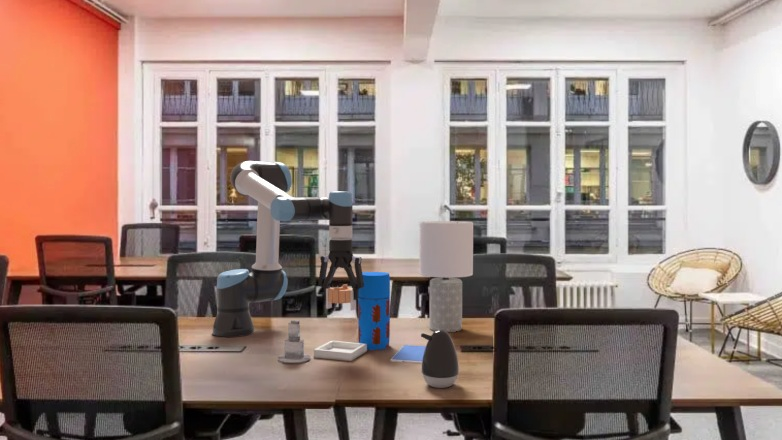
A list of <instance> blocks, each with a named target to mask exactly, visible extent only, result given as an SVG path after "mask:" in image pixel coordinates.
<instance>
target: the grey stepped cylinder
mask: <svg viewBox="0 0 782 440" xmlns="http://www.w3.org/2000/svg"><path fill="white" fill-rule="evenodd" d="M287 327H288V338H286V339H285V340H284V353H283V354H280V355H279V356H278V357H277V361H278V362H279V363H282V364H291V365H293V364H295V365H297V364H304V363H306V362H309V361H310V360H311V355H310V354H308V353H305V339H303V338H301V322H300V320H293V319H291V320H290V322H288V326H287Z"/></svg>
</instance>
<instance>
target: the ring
mask: <svg viewBox="0 0 782 440" xmlns="http://www.w3.org/2000/svg"><path fill="white" fill-rule="evenodd" d="M348 285H349V284H347V283H346V284H342V286H341V287H340V286H334V287H329V288H330V289H328V301H329V302H330V303H332V304H351V290H352V289H353V288H352V287H349V286H348Z"/></svg>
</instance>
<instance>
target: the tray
mask: <svg viewBox="0 0 782 440" xmlns="http://www.w3.org/2000/svg"><path fill="white" fill-rule="evenodd" d="M366 352H368V349H367V344H363V343H359V342H351V341H349V342H348V341H341V340H330V341H328V342H326V343H324V344H321V345H320V346H317V347H315V348H313V358H318V359H328V360H338V361H347V362H352V361H354V360H355V359H357V358H358V357H360V356H362V355H363V354H365V353H366Z"/></svg>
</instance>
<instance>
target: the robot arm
mask: <svg viewBox="0 0 782 440" xmlns="http://www.w3.org/2000/svg"><path fill="white" fill-rule="evenodd" d="M229 177H230V179H229V180H230V184H231V186H232V188H233V189H234V190H235V191H237V192H238V193H239V194H240V195H244V196H245V195H246V196H247V195H248V196H249V197H250V198H253V200H255V201H257V214H256V215H257V217H256V218H257V219H256V220H257V222H256V248H255V262H254V263H253V264H252V265H251V272H250V271H249V269H247V268H240V269H239V268H238V269H230V270H227V271H223V272H221V273H219V275H218V276H217V279H216V280H217V281H216V304H217V307H216V309H217V312H216V316H215V319H214V321H213V322H214V323H213V325H212V335H214V336H216V337H226V338H233V337H234V338H235V337H242V336H243V337H244V336H248V335H251V334H253V333H254V332H255V325H254V322H253V319H252V315H251V313H250V304H251V303H252V304H253V303H261V302H262V303H263V302H272V301H277V300H280V299H281V298H282V297H283V296H284V295H285V294H286V292H287V289H288V282H289V279H288V277H287V276H288V275H287V273H286V271H284V270H283V267H282V265H281V264H280V263H279V258H280V257H279V254H280V227H281V222H293V221H296V222H297V221H328V223H329V224H328V226H329V227H328V230H329V231H328V236H329V238H330V239H329V241H328V243H329V244H328V246H329V247H328V248H329V249H328V251H329V253H328V255H321V256H320V269H319V270H320V271H319V276H318V284H317V286H318V287H322V289H323V298H324V299H325V309H326V310H328V309H332V308H333V306H332V305H333V303H330V302H329V301H328V289H330V288H331V283H332V281H333V278H334V276H335V274H336V272H337V270H338V269H339V268H340V269H344V271H345V273H346V275H347V277H348V281H349V282H350V286H351V288H353V289H352V290H351V303H350V311H355V310H356V309H357V301H358V298H359V289H360V288H362V287H364V281H363V275H362V273H363V269H362V261H363V259H362V257H361V256H358V257H357V256H354V254H353V237H354V236H353V208H354V207H353V205H354V203H353V194H352V193H351V192H350V191H338V190H337V191H336V190H335V191H330V192H329V193H328V197H323V196H320V197H319V196H318V197H317V196H316V197H315V196H314V197H313V196H311V197H297V196H295V197H294V196H292V195H290V194H289V193H288V192H289V191H290V190H291V188H292V181H293V179H292V174H291V171H290V169H289V167H288V166H287V165H286V164H285V163H283V162H280V161H279V162H278V161H262V160H261V161H259V160H255V161H254V160H246V161H245V160H244V161H241V162H240V163H238V164H237V165H235V166H234V167H233V169H232V170H231V173H230V176H229ZM352 261H353V264H354V270H355V272H354V271H353V266H352V264H351V263H352ZM328 262H330V267H329V270H328V273H327V269H328V266H329V265H328Z"/></svg>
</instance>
